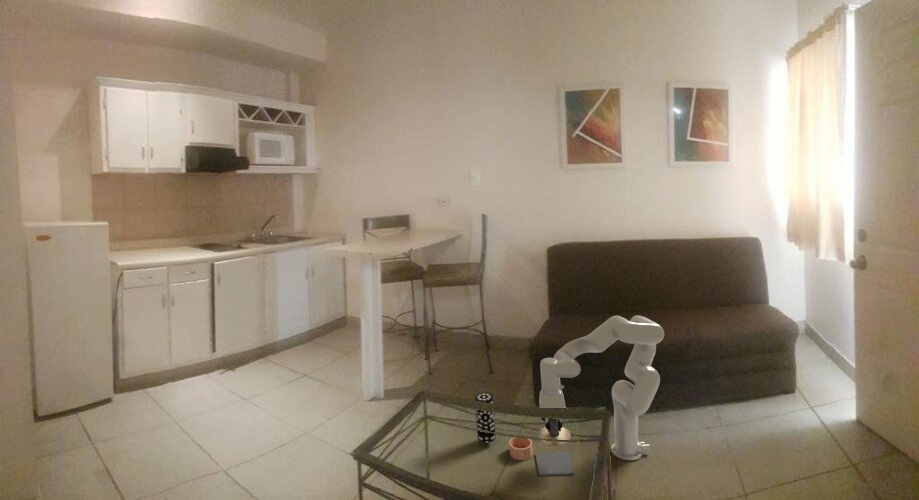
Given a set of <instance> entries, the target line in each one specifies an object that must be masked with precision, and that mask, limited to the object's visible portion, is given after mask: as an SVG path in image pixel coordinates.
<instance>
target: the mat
mask: <svg viewBox="0 0 919 500" xmlns="http://www.w3.org/2000/svg"><path fill="white" fill-rule="evenodd" d="M534 454H535V460H536V465H537V471H538V476H539V477H545V476H547V477H549V476H573V475H574V476H575V470H574V468H573V465H572V462H571V458H570V455H569V452H568V451H563V452H562V451H560V452H557V451H556V452H535V453H534Z"/></svg>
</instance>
